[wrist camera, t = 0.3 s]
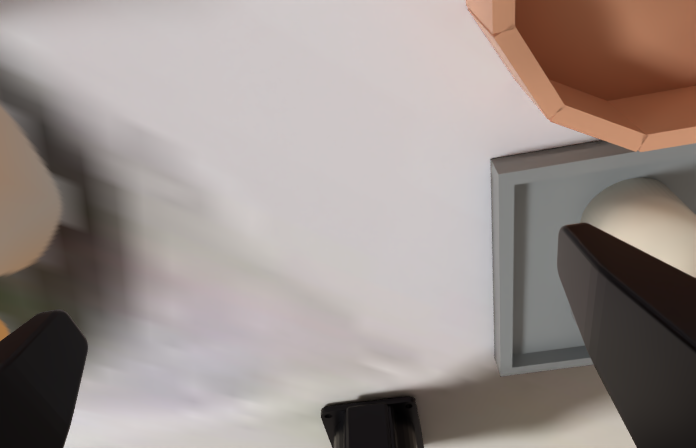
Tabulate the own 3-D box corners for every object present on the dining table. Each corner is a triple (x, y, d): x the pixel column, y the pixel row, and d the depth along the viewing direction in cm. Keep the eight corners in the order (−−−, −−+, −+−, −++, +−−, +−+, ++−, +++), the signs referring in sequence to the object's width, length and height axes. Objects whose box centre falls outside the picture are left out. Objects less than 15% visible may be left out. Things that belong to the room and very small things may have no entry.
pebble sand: (663, 243, 26) (717, 304, 22) (576, 256, 26) (614, 319, 22) (681, 170, 23) (744, 226, 19) (583, 186, 23) (628, 243, 20)
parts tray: (707, 329, 30) (722, 348, 29) (494, 357, 31) (500, 376, 30) (784, 109, 22) (809, 123, 21) (490, 159, 23) (498, 174, 22)
